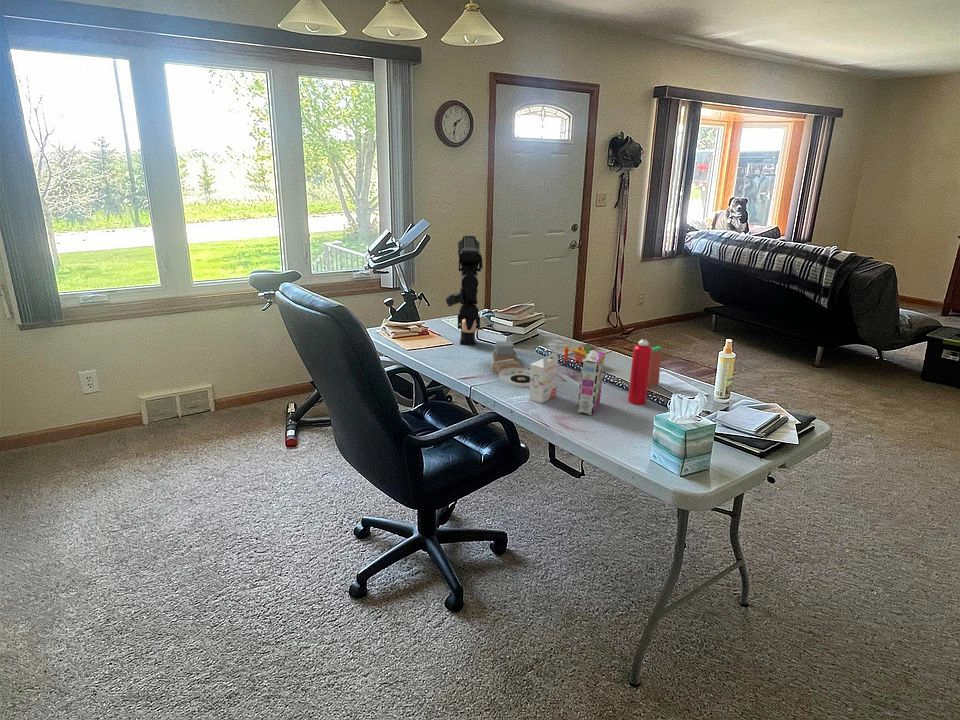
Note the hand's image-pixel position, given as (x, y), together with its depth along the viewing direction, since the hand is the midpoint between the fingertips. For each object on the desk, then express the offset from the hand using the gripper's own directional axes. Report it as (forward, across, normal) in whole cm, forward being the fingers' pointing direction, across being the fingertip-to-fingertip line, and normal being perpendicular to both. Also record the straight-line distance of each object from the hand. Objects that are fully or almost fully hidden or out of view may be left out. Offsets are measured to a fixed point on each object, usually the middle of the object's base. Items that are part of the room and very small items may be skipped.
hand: (468, 328), depth 209 cm
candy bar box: (+12, +45, +36) cm, 58 cm away
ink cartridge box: (+12, +37, +22) cm, 45 cm away
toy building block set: (+12, +13, +48) cm, 52 cm away
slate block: (+9, +2, +13) cm, 16 cm away
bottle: (+12, +39, +52) cm, 66 cm away
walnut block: (+12, +2, +13) cm, 18 cm away
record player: (+13, +18, +16) cm, 27 cm away
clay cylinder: (+1, 0, 0) cm, 1 cm away
